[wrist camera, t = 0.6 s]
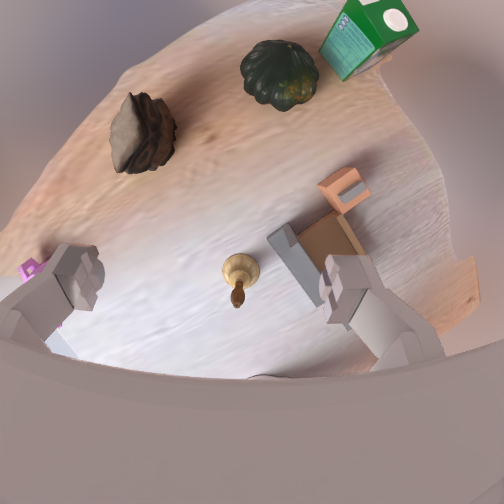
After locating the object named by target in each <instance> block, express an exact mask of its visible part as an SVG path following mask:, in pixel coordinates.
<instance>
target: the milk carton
mask: <svg viewBox="0 0 504 504" xmlns="http://www.w3.org/2000/svg"><path fill="white" fill-rule="evenodd" d="M418 31H419V29H418V27H417V25H416V24H415V22H414V20H413V19H412V17H411V16H410V14H409V12H408V11H407V9H406V8H405V6H404V5H403V3H402V2H401V0H347V2H346V4H345V5H344V7H343V9H342V10H341V12H340V14H339V16H338V17H337V19H336V21H335V23H334V24H333V26H332V28H331V30H330V31H329V33H328V35H327V37H326V39H325V40H324V42H323V44H322V46H321V48H320V49H319V52H320V54H321V55H322V56H323V57H324V58H325V60H326V61H327V62H328V63H329V64H330V66H331V67H332V68H333V69H334V71H335V72H336V73H337V75H338V76H339V77H340V78H341V80H342V81H343V82H344V81H346V80H348V79H350V78H352V77H353V76H355V75H357V74H359V73H361V72H363V71H365V70H367V69H369V68H371V67H373V66H374V65H375V64H376V63H378V62H379V61H380V60H381V59H383V58H384V57H385V56H386V55H388V54H389V53H390V52H392V51H393V50H394V49H396V48H397V47H398V46H399V45H401V44H402V43H403V42H405V41H406V40H408V39H409V38H410V37H412V36H413V35H414V34H416V33H417V32H418Z"/></svg>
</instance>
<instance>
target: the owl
mask: <svg viewBox="0 0 504 504" xmlns="http://www.w3.org/2000/svg"><path fill="white" fill-rule="evenodd" d="M176 129H177V126H176V124H175V121H174V119H173V118H172V117H171V115H170V111H169V109H168V107H167V106H166V104H165V103H164V101H163V100H162V98H160V99H155V100H151V98H150V96H149V95H148V94H147V93H142V92H141V93H140V94H138V95H135V96H133V95H132V93H131V92H129V93H128V96H127V97H126V99H125V101H124V102H123V104H122V106H121V109H120V111H119V113H118V114H117V116H116V117H115V119H114V120H113V122H112V124H111V127H110V130H111V135H110V139H109V142H110V145H111V148H112V160H113V164H114V169H115V171H116V173H122V172H124V171H125V172H126V173H127V174H133V173H134V174H137V173H142V172H145V171H147V170H150V171H155V170H156V169H157V168H158V166H163V165H165V164H166V162H167V161H168V160H169V159H170V158H171V156H172V155H173V154H174V152H175V149H174V146H173V142H174V141H175V140H176V137H175V131H174V130H176Z"/></svg>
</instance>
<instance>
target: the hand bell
mask: <svg viewBox="0 0 504 504" xmlns="http://www.w3.org/2000/svg"><path fill="white" fill-rule="evenodd" d="M222 273H223V277H224V279H225V281H226V282H227V283H228V284H229V285H230V286H232V287H233V288H234V290H233V291H232V293H231V302H232V304H233V306H234V307H235V308H239V307H240V306H241V305H242V304H243V302H244V300H245V293H244V290H243V289H245V288H248V287H250V286H252V285H253V284H254V283H255V282H256V281H257V279H258V277H259V266H258V264H257V262H256V261H255V260H254V259H253V258H252V257H250V256H248V255H245V254H236V255H233V256H231V257H229V258H228V259H227V260H226V261H225V263H224V265H223V269H222Z"/></svg>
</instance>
